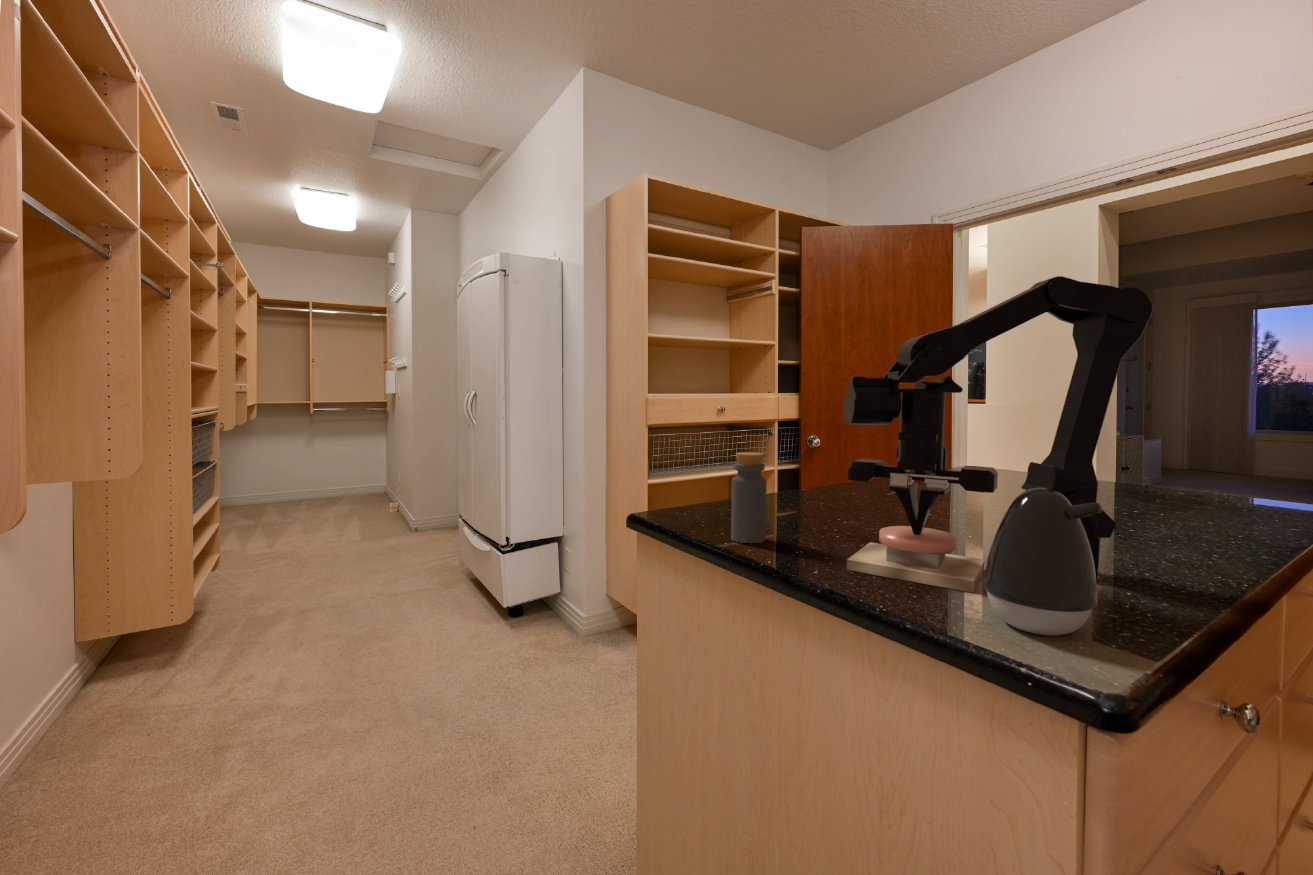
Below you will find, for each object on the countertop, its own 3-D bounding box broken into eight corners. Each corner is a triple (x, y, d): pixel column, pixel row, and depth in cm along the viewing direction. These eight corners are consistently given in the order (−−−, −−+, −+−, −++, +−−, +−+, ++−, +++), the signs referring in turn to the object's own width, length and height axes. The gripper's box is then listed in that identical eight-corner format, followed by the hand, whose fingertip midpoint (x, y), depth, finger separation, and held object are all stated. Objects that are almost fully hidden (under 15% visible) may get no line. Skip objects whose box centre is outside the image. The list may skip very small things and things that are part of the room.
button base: (984, 569, 83) (985, 545, 82) (973, 592, 73) (974, 565, 73) (869, 551, 92) (870, 529, 92) (846, 569, 82) (847, 545, 82)
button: (960, 555, 83) (961, 532, 83) (949, 572, 75) (950, 546, 75) (888, 544, 89) (889, 523, 89) (870, 559, 81) (871, 535, 81)
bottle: (765, 545, 95) (767, 455, 94) (729, 543, 96) (731, 454, 95) (765, 536, 101) (767, 452, 100) (732, 535, 102) (733, 451, 101)
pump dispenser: (1067, 655, 55) (1076, 499, 54) (962, 619, 64) (969, 484, 63) (1115, 634, 60) (1125, 491, 59) (1012, 602, 69) (1019, 478, 68)
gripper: (1003, 425, 82) (998, 532, 83) (869, 421, 93) (866, 516, 94) (996, 428, 73) (990, 549, 74) (848, 423, 84) (845, 529, 85)
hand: (917, 534), depth 82 cm, fingers closed, pressing on button
